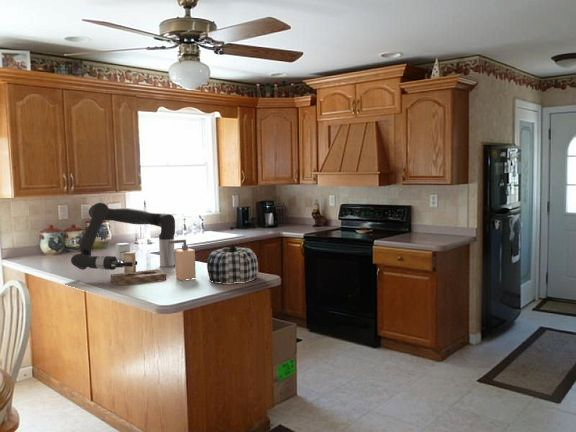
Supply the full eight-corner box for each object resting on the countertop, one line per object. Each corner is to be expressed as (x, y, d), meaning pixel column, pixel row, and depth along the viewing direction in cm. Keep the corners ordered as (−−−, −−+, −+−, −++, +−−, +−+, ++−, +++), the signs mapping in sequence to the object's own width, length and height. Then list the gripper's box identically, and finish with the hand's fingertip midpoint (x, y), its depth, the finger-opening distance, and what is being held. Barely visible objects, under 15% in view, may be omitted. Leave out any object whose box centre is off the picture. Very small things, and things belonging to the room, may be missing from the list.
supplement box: (119, 263, 340) (118, 244, 339) (115, 262, 346) (115, 243, 345) (130, 262, 344) (129, 243, 343) (126, 261, 350) (126, 242, 349)
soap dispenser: (190, 276, 295) (189, 238, 293) (195, 279, 288) (194, 239, 286) (168, 279, 289) (167, 239, 287) (173, 281, 282) (172, 241, 280)
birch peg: (128, 279, 288) (127, 251, 286) (137, 279, 286) (136, 252, 285) (123, 281, 282) (122, 253, 281) (132, 281, 281) (131, 253, 280)
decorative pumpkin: (222, 287, 266) (221, 249, 264) (196, 278, 289) (195, 243, 288) (269, 280, 283) (269, 243, 281) (242, 272, 307) (241, 238, 305)
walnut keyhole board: (157, 275, 300) (157, 269, 300) (166, 279, 287) (166, 273, 287) (111, 280, 287) (110, 274, 286) (118, 285, 273) (118, 279, 273)
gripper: (98, 258, 280) (127, 259, 276) (113, 253, 293) (140, 254, 290) (99, 271, 280) (128, 273, 276) (113, 267, 294) (141, 268, 290)
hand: (134, 263), depth 283 cm, fingers closed on birch peg, 4 cm apart
